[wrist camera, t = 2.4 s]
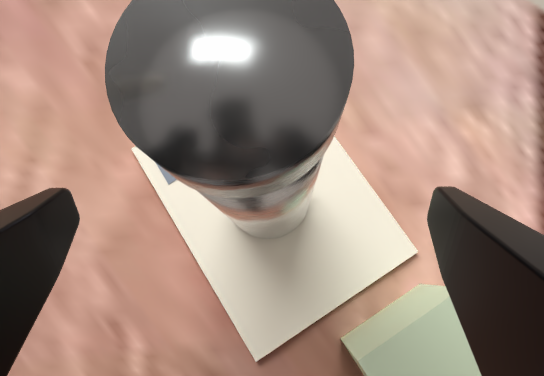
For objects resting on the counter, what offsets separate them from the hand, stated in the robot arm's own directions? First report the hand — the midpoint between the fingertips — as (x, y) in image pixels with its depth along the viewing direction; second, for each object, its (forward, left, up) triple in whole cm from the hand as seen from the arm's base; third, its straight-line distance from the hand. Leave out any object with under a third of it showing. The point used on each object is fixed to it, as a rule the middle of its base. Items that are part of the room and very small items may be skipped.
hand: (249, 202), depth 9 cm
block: (-8, -3, -9) cm, 13 cm away
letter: (+2, -1, -9) cm, 9 cm away
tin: (+2, -1, -9) cm, 9 cm away
